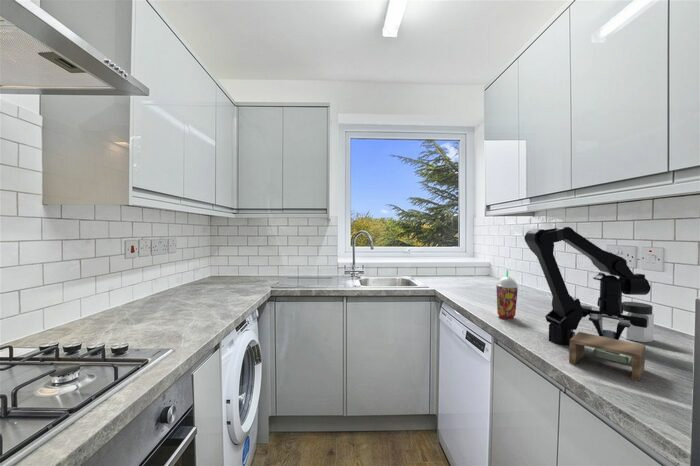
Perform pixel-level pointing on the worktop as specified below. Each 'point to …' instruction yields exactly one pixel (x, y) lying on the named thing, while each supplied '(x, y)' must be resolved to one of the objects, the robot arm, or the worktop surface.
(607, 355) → the tray
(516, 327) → the worktop surface
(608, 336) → the grey rounded cylinder
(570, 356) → the shelf
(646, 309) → the jar
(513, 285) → the smoothie
